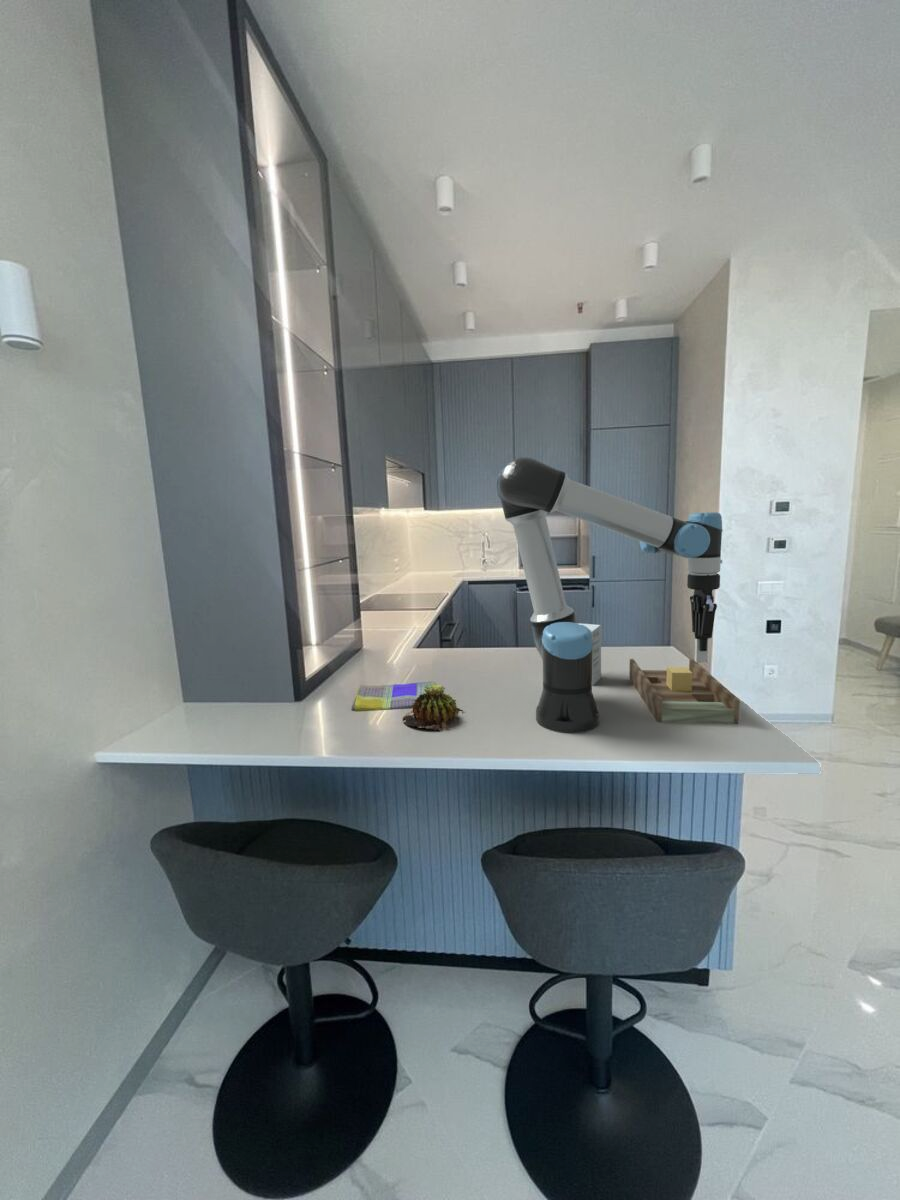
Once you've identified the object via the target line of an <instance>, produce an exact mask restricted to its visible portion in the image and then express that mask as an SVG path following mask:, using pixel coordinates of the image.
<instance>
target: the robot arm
mask: <svg viewBox="0 0 900 1200" xmlns="http://www.w3.org/2000/svg"><path fill="white" fill-rule="evenodd" d="M496 492H497V496H498V497H499V499H500V503H501V507H502V511H503V515H504V519H505V521H507V522H508V523H510V524H511V525H512V527H513V530H514V536H515V539H516V542H517V547H518V551H519V552H518V553H519V555H520V559H521V563H522V567H523V572H524V575H525V580H526V584H527V588H528V592H529V595H530V596H529V597H530V600H531V604H532V608H533V613H532V615H531V617H530V619H529V620H530V624H531V629H532V633H533V642H534V646H535V649H536V651H537V652H538V653H539V655H540V658H541V660H542V691H541V695H540V697H539V702H538V704H537V706H536V709H535V720H536V722H537V723H538V724H539V725H540V726H541V727H542V728H544V729H548V730H551V731H554V732H558V733H559V732H560V733H570V734H571V733H572V734H573V733H582V732H588V731H591V730H594V729H595V728H597V727H598V726H599V724H600V711H599V710H598V707H597V703H596V699H595V696H594V694H593V691H592V690H593V686H592V648H593V640H592V633H591V631H590V630H589V629H588V628H587V627H586V626H584V625H579V624H578V623H577V619H576V616H575V612H574V608H572V607H570V606H569V605H567V602H566V598H565V594H564V589H563V585H562V580H561V577H560V571H559V569H558V564H557V563H558V562H557V559H556V555H555V550H554V547H553V542H552V538H551V534H550V529H549V525H548V521H547V517H546V516H547V514H548V513H549V514H552V513H555V512H559V513H562V514H564V515H567V516H569V517H573V518H575V519H577V520H581V521H584V522H586V523H589V524H592V525H594V526H598V527H599V528H602V529H606V530H608V531H611V532H614V533H617V534H619V535H622V536H624V537H627V538H630V539H633V540H635V541H639V546H640V549H641V551H642V552H644V553H645V554H646V553H648V554H651V553H652V554H656V553H657V554H658V553H664V554H670V555H675V556H678V557H679V556H680V557H683V558H686V559H687V570H686V571H687V572H688V574H687V580H686V583H687V584H686V585H687V588H688V589H691V590H694V591H693V595H691V596H690V597H689V600H690V601H689V602H690V608H691V609H690V610H691V613H690V614H691V630H692V633H694V634H693V635H694V660H695V662H697V663H708V657H709V655H708V654H709V651H708V650H709V639H712V638H713V631H714V625H715V623H714V622H715V616H716V611H717V608H718V605H717V603H714V595H713V591H715V590H718V589H720V587H721V575H720V574H719V573H720V571H721V564H723V560H722V559H721V556H722V538H723V537H722V536H723V520H722V519H723V517H722V514H721V513H719V512H717V511H716V512H714V511H713V512H712V511H711V512H710V511H709V512H695V513H690V514H689V517H688V520H687V521H684V520H681V519H678V518H674V517H673V516H671V515H668V514H665V513H663V512H660V511H656V510H654V509H651V508H648V507H646V506H643V505H640V504H638V503H635V502H632V501H630V500H627V499H625V498H622V497H619V496H616V495H614V494H611V493H608V492H605V491H602V490H600V489H598V488H594V487H592V486H589V485H586V484H584V483H580V482H577V481H575V480H572V479H570V478H569V476H568V473H567V472H565V471H561V470H560V469H556V468H555V467H552V466H550V465H548V464H545V463H544V462H541V461H539V460H537V459H535V458H531V457H527V456H526V457H524V456H523V457H522V456H521V457H518V458H514V459H512V460H511V461H509V462H508V463H506V465H505V466H504V467H503V469H501V471H500V472H499V475H498V476H497V479H496Z"/></svg>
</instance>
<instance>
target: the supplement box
mask: <svg viewBox="0 0 900 1200" xmlns="http://www.w3.org/2000/svg"><path fill="white" fill-rule="evenodd" d="M578 624H579V625H584V626H586V627H587V628H588V629H589V630H590V631H591V633H592V640H593V648H592V687H594V686H595V685H596V683H597V682H599V680H600V679H601V678H602V625H601V624H591V623H580V622H579V623H578Z"/></svg>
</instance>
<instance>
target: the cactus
mask: <svg viewBox="0 0 900 1200" xmlns="http://www.w3.org/2000/svg"><path fill="white" fill-rule="evenodd" d="M425 688H426V689H425V691H426V693H425V694H424V693H423V695H422V694H421V695H419V697H418V698H417V699H415V700H414V701H415V703H413V704H414V705H412V706H413V708H412V710H411V711H408V712H407V713H405V714H404V715H403V717H402V722H403V723H404V724H405V725H407V726H408V727H409V726H411V727H416V728H420V729H421V728H423V729H424V728H425V729H430V730H435V731H437V730H438V731H441V732H443V731H445V730H447V731H449V730H450V731H451V728H450V727H449V726H452V725H454V724H455V722H456V721H457V722H460V720H459V719H460V717H459V713H460V712H461V713H462V714H464V713H466V711H464V710H463V709H461V708H459V707H458V704H457V703H458V701H457V699H454V698H453V697H452V696H451V694H446V693H445V690H446V688H445V687H444V686H443V685H442V684H438V685H437V684H436V685H432V686H430V685H428V687H425ZM456 702H457V703H456ZM457 716H458V717H457ZM457 719H458V720H457ZM463 723H467V721H463ZM454 729H456V727H455V728H454Z"/></svg>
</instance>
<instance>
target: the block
mask: <svg viewBox="0 0 900 1200" xmlns="http://www.w3.org/2000/svg"><path fill="white" fill-rule="evenodd" d="M666 670H667V680H666V685H667V686H668V687H669V688H670V689H671V691H692V672H691V671H690V670H689V667H686V666H667V667H666Z"/></svg>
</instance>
